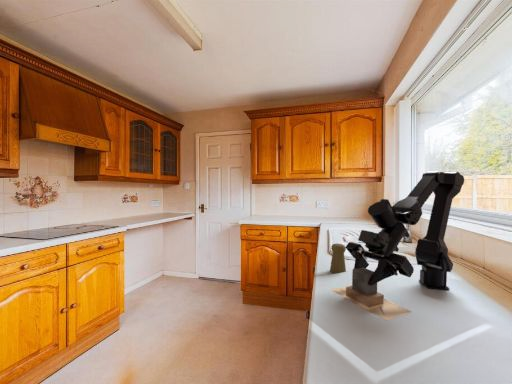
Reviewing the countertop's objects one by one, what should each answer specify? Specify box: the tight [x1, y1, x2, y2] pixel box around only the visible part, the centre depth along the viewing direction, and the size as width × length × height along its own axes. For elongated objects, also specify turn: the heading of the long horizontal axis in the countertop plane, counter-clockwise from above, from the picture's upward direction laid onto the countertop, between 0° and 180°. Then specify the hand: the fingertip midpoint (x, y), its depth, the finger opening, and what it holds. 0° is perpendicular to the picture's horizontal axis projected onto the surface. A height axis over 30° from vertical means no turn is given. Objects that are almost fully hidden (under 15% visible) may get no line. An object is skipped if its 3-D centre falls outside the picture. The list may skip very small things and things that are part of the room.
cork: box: [329, 243, 347, 275], centre depth 96 cm, size 6×6×11 cm
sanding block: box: [345, 267, 385, 309], centre depth 70 cm, size 8×6×8 cm
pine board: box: [330, 284, 413, 321], centre depth 70 cm, size 19×10×1 cm, turn 26°
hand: (361, 281), depth 69 cm, fingers closed on sanding block, 5 cm apart
